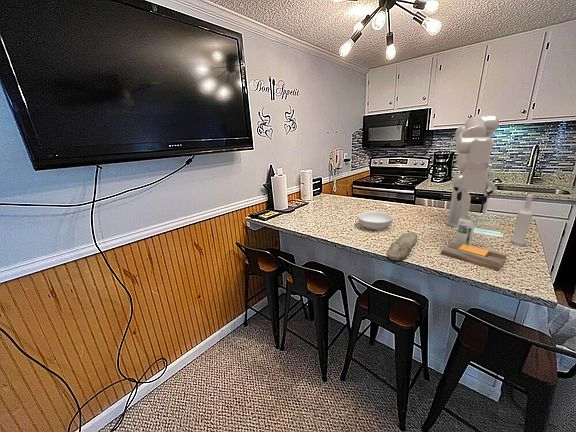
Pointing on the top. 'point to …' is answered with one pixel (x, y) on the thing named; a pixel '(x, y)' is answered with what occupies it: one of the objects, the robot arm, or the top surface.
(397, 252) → the elongated rock
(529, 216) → the bottle
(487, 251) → the orange rectangular panel
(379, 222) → the serving bowl
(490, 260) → the wooden tray
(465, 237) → the syrup box
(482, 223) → the top surface
